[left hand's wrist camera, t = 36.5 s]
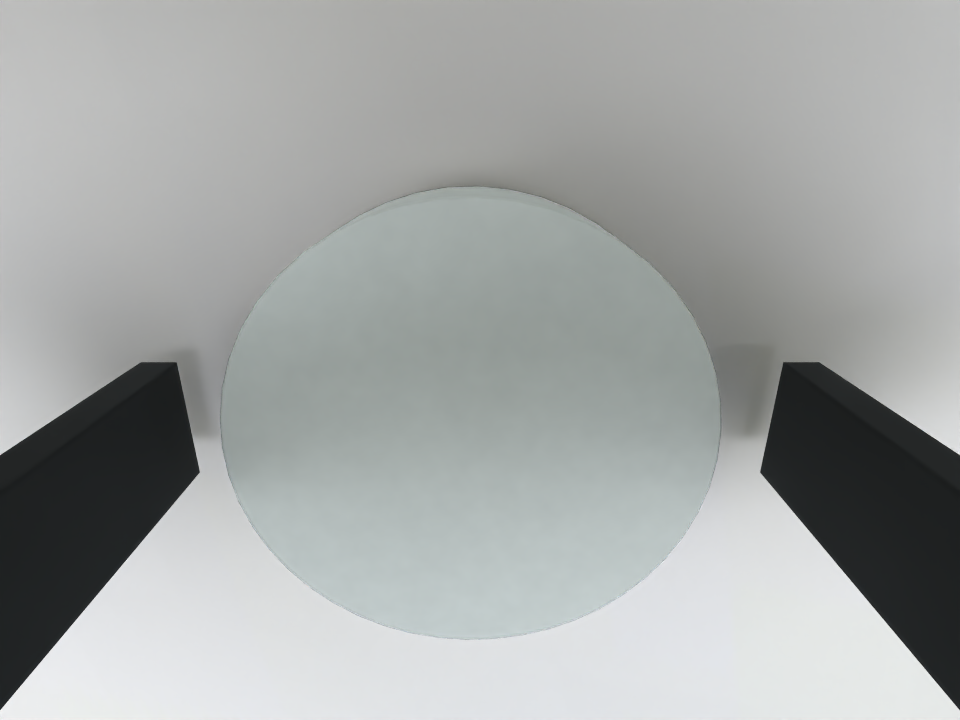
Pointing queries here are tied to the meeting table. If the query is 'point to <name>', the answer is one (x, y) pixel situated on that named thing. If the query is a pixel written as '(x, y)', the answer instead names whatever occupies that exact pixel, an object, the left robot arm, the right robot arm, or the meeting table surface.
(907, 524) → the left robot arm
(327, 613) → the meeting table surface
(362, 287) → the lid
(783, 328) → the meeting table surface
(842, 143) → the meeting table surface
